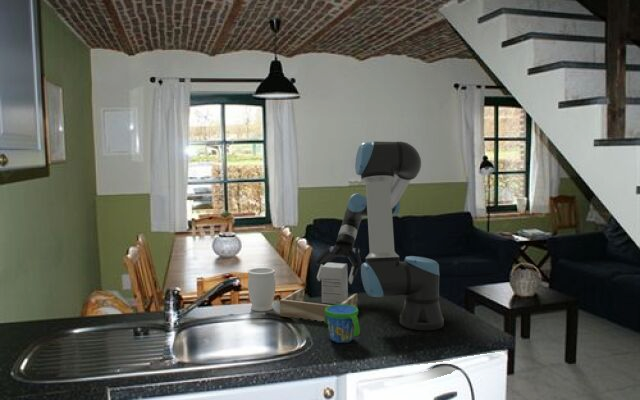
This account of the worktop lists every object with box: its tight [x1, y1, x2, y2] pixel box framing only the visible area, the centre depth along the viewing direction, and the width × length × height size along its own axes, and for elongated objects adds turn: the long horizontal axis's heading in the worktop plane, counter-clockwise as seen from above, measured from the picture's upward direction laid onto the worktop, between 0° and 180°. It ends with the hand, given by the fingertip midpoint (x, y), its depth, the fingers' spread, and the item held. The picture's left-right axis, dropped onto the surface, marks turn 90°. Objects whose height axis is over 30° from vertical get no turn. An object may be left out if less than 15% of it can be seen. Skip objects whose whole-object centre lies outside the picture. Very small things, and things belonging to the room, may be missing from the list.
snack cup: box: [324, 304, 361, 344], centre depth 165 cm, size 16×10×10 cm
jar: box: [247, 267, 276, 312], centre depth 199 cm, size 11×10×15 cm
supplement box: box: [321, 261, 349, 305], centre depth 208 cm, size 9×9×15 cm
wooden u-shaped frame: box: [279, 287, 358, 323], centre depth 194 cm, size 19×24×6 cm
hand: (333, 280), depth 207 cm, fingers open, 13 cm apart
